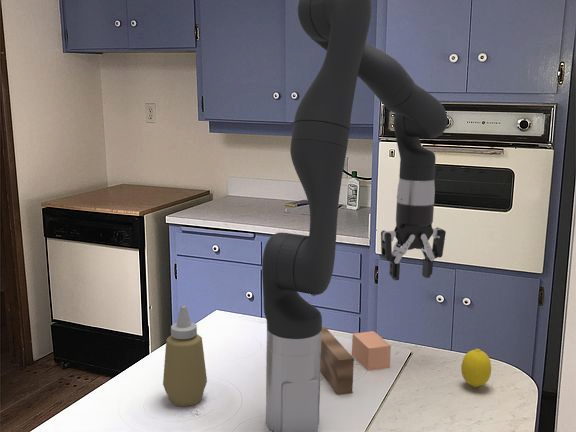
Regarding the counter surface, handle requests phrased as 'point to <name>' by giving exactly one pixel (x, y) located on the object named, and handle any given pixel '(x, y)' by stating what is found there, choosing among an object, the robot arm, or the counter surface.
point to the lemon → (476, 368)
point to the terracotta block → (371, 350)
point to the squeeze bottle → (184, 362)
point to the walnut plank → (336, 363)
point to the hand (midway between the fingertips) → (410, 277)
